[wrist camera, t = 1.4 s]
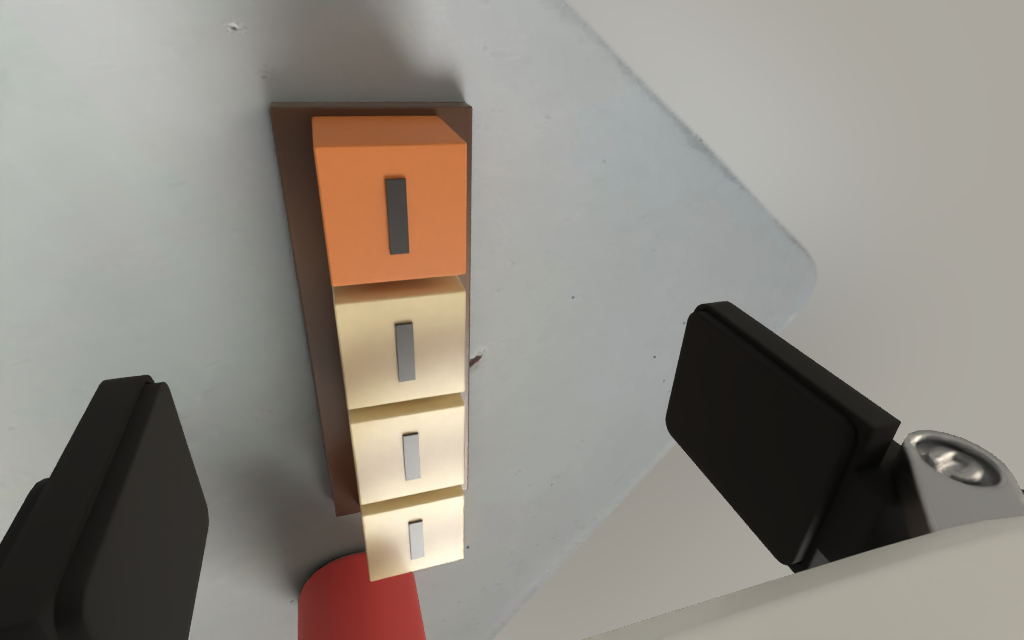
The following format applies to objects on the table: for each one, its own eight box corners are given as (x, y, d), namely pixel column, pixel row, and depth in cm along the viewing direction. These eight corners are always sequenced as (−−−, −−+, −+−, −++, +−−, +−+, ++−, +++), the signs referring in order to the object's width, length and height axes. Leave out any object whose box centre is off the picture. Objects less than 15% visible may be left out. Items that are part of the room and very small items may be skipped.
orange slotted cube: (311, 116, 19) (312, 146, 15) (438, 115, 20) (468, 143, 16) (326, 236, 21) (331, 289, 17) (440, 229, 22) (467, 276, 19)
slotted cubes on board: (270, 102, 19) (259, 136, 15) (466, 101, 21) (510, 131, 17) (335, 502, 29) (340, 596, 25) (464, 476, 31) (490, 558, 27)
